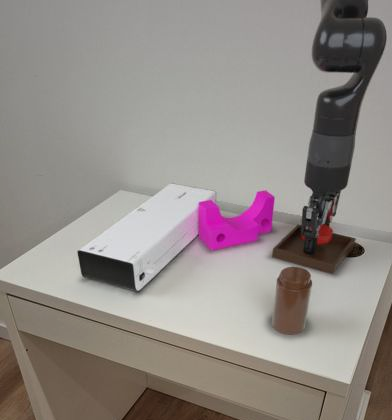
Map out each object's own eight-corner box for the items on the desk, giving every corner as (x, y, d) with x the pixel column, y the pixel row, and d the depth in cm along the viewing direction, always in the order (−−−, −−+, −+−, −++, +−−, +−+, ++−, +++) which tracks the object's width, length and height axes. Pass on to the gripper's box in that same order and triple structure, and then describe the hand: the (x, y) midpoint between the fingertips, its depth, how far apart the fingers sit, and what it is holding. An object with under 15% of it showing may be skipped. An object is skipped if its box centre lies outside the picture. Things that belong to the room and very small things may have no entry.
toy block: (211, 250, 95) (211, 214, 90) (198, 236, 99) (198, 202, 94) (277, 236, 99) (281, 201, 94) (262, 224, 104) (265, 190, 99)
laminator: (171, 209, 110) (170, 182, 106) (220, 219, 106) (221, 191, 102) (82, 280, 86) (76, 250, 82) (141, 297, 82) (138, 265, 78)
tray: (296, 232, 101) (297, 224, 99) (354, 246, 96) (356, 238, 94) (272, 257, 93) (273, 248, 91) (333, 274, 88) (335, 265, 86)
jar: (266, 318, 77) (271, 268, 71) (295, 312, 79) (303, 262, 73) (280, 337, 74) (287, 286, 68) (310, 330, 75) (320, 280, 69)
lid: (336, 234, 93) (337, 227, 92) (325, 247, 89) (327, 239, 88) (307, 227, 95) (308, 220, 94) (296, 239, 91) (297, 232, 90)
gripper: (336, 175, 76) (320, 268, 87) (363, 150, 86) (345, 236, 96) (292, 166, 79) (282, 257, 90) (323, 143, 89) (310, 228, 99)
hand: (315, 246), depth 93 cm, fingers closed on lid, 5 cm apart
